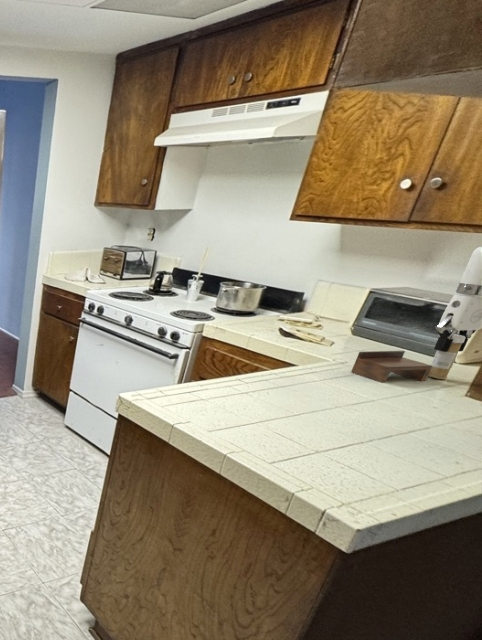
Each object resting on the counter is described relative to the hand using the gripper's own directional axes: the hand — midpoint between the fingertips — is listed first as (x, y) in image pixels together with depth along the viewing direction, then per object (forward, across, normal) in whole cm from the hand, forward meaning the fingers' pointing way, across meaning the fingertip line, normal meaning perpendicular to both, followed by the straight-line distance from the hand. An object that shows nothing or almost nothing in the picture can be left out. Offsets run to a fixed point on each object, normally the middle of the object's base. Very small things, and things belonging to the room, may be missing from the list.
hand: (448, 349), depth 143 cm
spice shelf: (+9, -14, +3) cm, 17 cm away
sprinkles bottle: (+9, 0, 0) cm, 9 cm away
